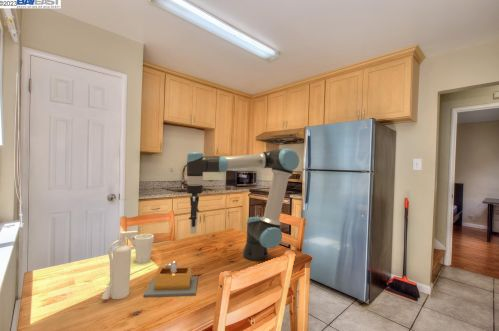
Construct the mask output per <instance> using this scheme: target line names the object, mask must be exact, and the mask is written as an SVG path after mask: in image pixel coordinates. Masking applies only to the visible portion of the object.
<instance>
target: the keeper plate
mask: <svg viewBox="0 0 499 331" xmlns="http://www.w3.org/2000/svg"><path fill="white" fill-rule="evenodd" d="M198 279H199V276H196V275H195V276H194V275H193V276H191V283H190V289H180V290H154V284H155V276H154V277H152V278H151V280H150V282H149V284H148V286H147V288H146V289H145V291H144V294H143V298H158V297H159V298H162V297H185V296H188V297H189V296H190V297H191V296H196V294H197V287H198Z"/></svg>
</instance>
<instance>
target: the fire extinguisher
mask: <svg viewBox="0 0 499 331" xmlns="http://www.w3.org/2000/svg"><path fill="white" fill-rule="evenodd" d="M137 235H139V231H138V230H130V231H128V230H127V231H119V233H118V236H117V237H118V238H119V239H117V240H115V241H113V242H112V243H111V244H109V248H108V252H107V253H108V259H109V282H108V285H107V286H106V288H105V290H104V292H103V294H102V296H101V299H102V300H108V299H110V298H111V299H113V300H122V299H123V298H124V299H125V298H126V297H128V295H129V294H130V282H131V263H132V262H131V261H132V260H131V259H132V248H131V246H133V247H135V245H136V243H135V240H134V237H131V236H137ZM126 238H127V239H128V240H129V241H130V244H131V246H130V245H129V244H127V240H126ZM116 244H118V245H116ZM114 245H116V246H114ZM113 246H114V247H113Z"/></svg>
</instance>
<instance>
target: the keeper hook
mask: <svg viewBox="0 0 499 331" xmlns="http://www.w3.org/2000/svg"><path fill="white" fill-rule="evenodd" d="M164 267H166V268H171V274H176V273H177V267H178V262H177V261H176V260H173V261H171V263H165V264H164Z"/></svg>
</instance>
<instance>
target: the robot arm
mask: <svg viewBox="0 0 499 331" xmlns="http://www.w3.org/2000/svg"><path fill="white" fill-rule="evenodd" d="M186 156H187V157H186V177H185V178H184V179H185V180H186V184H187V186H186V193H187V194H191V196H190V197H189V202H190V216H189V217H188V220H190V221H189V222H190V224H189V225H190V231H189V233H190V235H191V234H193V235H194V234H195V235H196V234H198V233H197V229H198V228H197V227H198V221H199V220H198V216H199V215H198V214H199V212H200V209H199V208H198V207H199V200H200V197H199V196H198V195H199V194H203V190H204V189H203V188H204V186H203V183H204V173H220V174H221V173H226V172H227V171H228V170H237V169H238V170H239V169H247V168H248V169H250V168H261V169H271V172H272V174H273V175H272V179H271V183H270V188H269V192H268V196H267V200H266V204H265V210H264V213H263V216H250V217H248V218H247V222H246V240H245V241H246V242H245V246H244V248H243V250H242V256H243V258H245V259H247V260H248V261H249V260H250V261H254V262H255V261H256V262H259V261H260V262H261V261H265V260H267V259H268V258H269V251H268V249H270V250H271V249H275V248H276V247H277V246H279V245H280V243H281V241H282V239H283V233H282V231H281V226H282V225H281V222H280V217H281V214H282V210H283V209H282V208H283V204H284V200H285V196H286V191H287V186H288V182H289V178H290V177H292V176H293V173H294V170H296V169H297V168H298V167H299V164H300V157H299V155H298V152H297V151H295V150H294V149H292V148H279V149H272V150H268V151H261V152H259V153H254V154H240V155H239V154H238V155H226V156H222V155H221V156H204V153H203V152H198V151H197V152H195V151H193V152H188V153H187V155H186Z"/></svg>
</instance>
